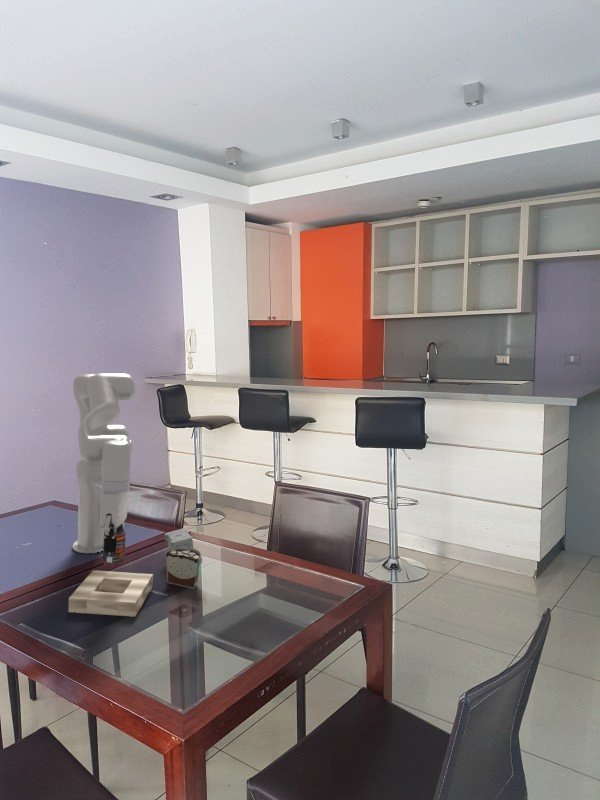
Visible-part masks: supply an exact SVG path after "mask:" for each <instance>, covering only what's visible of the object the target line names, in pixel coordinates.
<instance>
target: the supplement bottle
mask: <svg viewBox="0 0 600 800" xmlns="http://www.w3.org/2000/svg"><path fill="white" fill-rule="evenodd" d="M110 527H114V525H111V526H110ZM110 531H112V533H113V529H110ZM115 538H117V544H116V552H105V551H104V538H103V552H102V562H103V564H104V565H106V566H119V565H122V564H123V563H125V560H126V531H125V529H122V524H121V525H120V526H119V527H118V528H117V529H116V536H115Z"/></svg>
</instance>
